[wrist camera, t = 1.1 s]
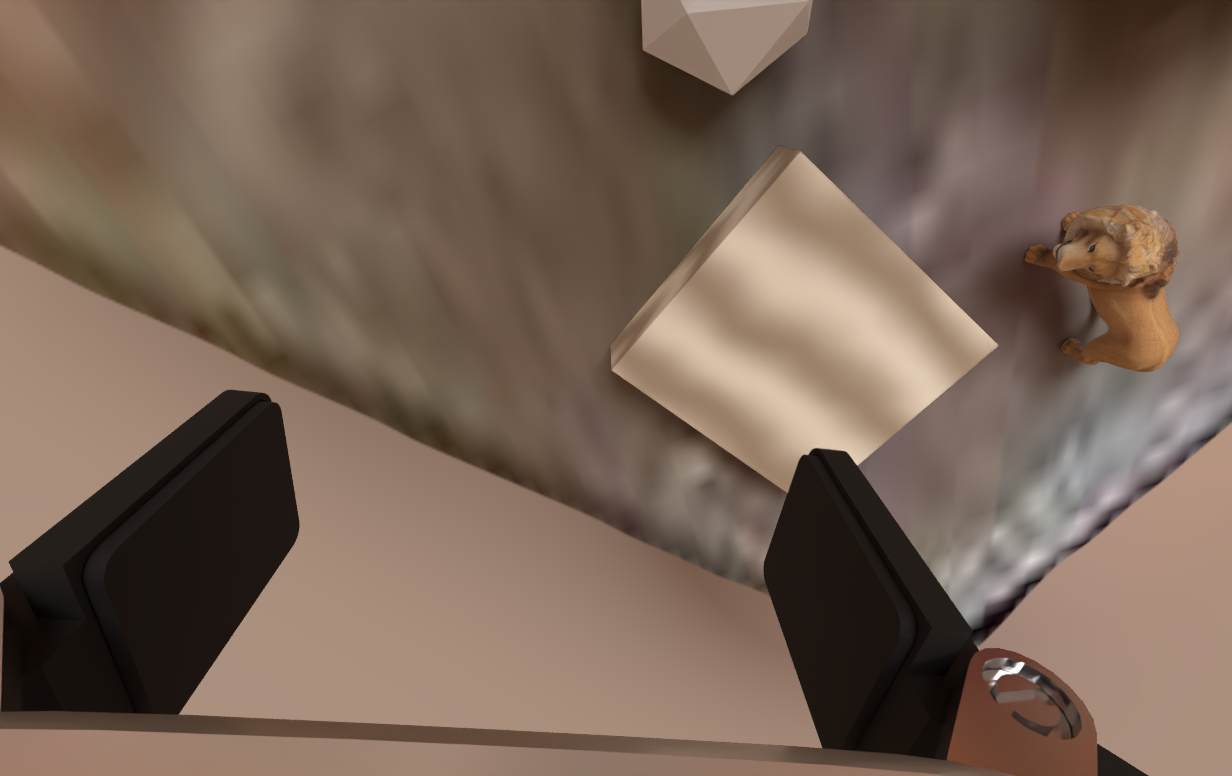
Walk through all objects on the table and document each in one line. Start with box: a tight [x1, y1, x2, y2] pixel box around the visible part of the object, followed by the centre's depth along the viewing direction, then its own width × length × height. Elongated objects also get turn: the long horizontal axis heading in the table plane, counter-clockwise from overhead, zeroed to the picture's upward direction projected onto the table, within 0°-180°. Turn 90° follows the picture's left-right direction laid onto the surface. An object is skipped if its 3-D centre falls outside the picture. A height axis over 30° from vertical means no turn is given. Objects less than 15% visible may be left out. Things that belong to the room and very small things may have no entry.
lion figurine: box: [1024, 205, 1179, 372], centre depth 33 cm, size 15×5×9 cm, turn 45°
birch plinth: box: [610, 146, 999, 493], centre depth 37 cm, size 16×18×4 cm
